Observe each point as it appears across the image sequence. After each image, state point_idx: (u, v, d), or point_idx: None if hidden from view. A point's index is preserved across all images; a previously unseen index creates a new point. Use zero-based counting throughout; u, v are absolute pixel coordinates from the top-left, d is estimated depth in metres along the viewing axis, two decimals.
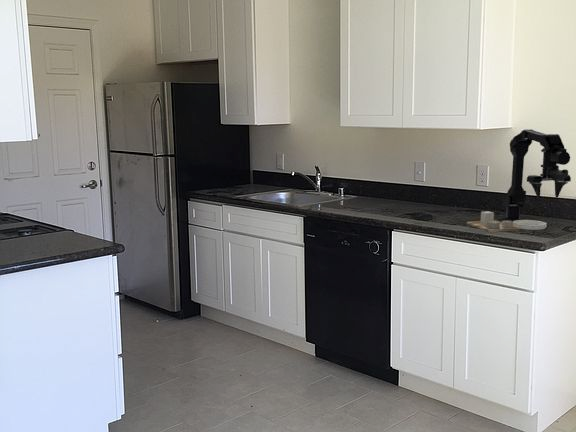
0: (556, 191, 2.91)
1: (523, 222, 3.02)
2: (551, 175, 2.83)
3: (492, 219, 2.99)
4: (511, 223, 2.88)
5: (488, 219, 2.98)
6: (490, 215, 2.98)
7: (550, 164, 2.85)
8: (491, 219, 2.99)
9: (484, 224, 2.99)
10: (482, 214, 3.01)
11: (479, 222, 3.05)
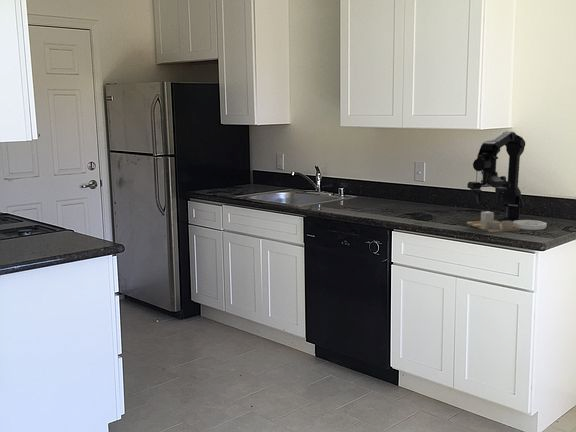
0: (496, 197, 3.00)
1: (523, 222, 3.02)
2: (490, 181, 2.92)
3: (492, 219, 2.99)
4: (511, 223, 2.88)
5: (488, 219, 2.98)
6: (490, 215, 2.98)
7: (489, 171, 2.94)
8: (491, 219, 2.99)
9: (484, 224, 2.99)
10: (482, 214, 3.01)
11: (479, 222, 3.05)
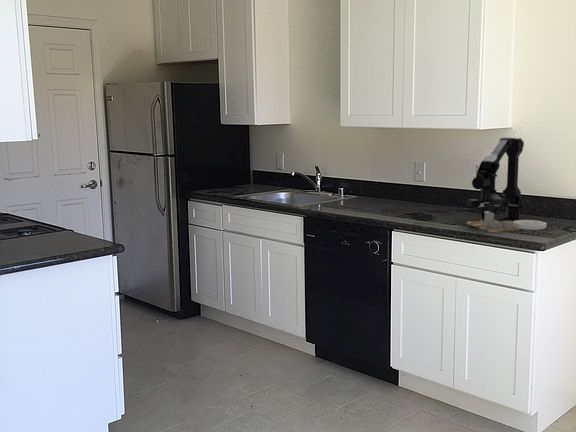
0: None
1: (523, 222, 3.02)
2: (489, 199, 2.93)
3: (492, 219, 2.99)
4: (511, 223, 2.88)
5: (488, 219, 2.98)
6: (490, 215, 2.98)
7: (488, 189, 2.95)
8: (491, 219, 2.99)
9: (484, 224, 2.99)
10: None
11: (479, 222, 3.05)
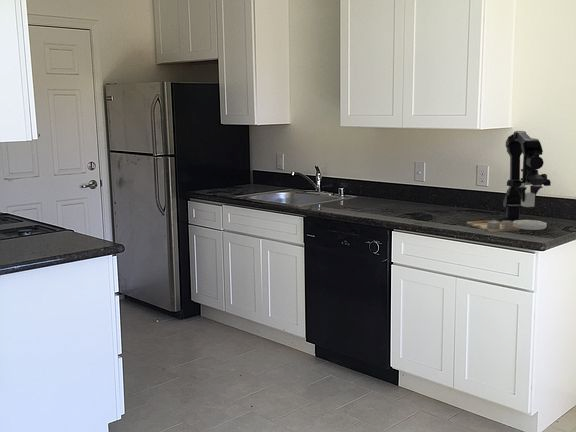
0: None
1: (523, 222, 3.02)
2: (530, 179, 2.87)
3: (533, 200, 2.92)
4: (511, 223, 2.88)
5: (529, 200, 2.92)
6: (531, 195, 2.92)
7: (529, 168, 2.89)
8: (532, 200, 2.92)
9: (525, 205, 2.93)
10: None
11: (479, 222, 3.05)
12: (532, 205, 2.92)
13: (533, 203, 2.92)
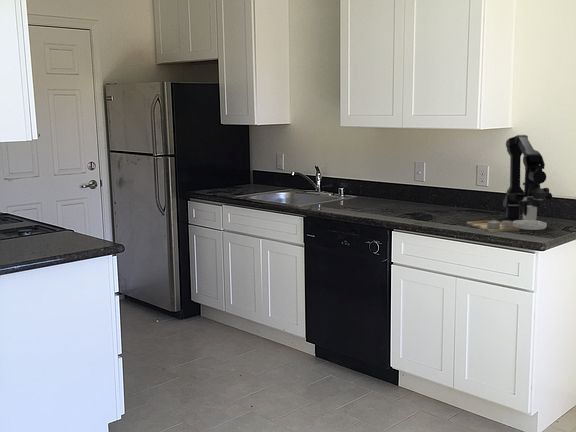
0: None
1: (523, 222, 3.02)
2: (532, 193, 2.88)
3: (535, 213, 2.93)
4: (511, 223, 2.88)
5: (531, 213, 2.93)
6: (533, 209, 2.92)
7: (531, 182, 2.90)
8: (534, 213, 2.93)
9: (527, 218, 2.94)
10: None
11: (479, 222, 3.05)
12: (534, 219, 2.93)
13: (535, 217, 2.93)
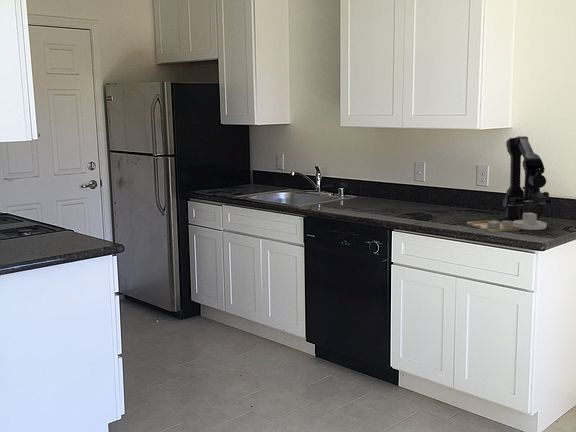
0: (537, 213, 2.96)
1: None
2: (532, 197, 2.88)
3: (535, 220, 2.94)
4: (511, 223, 2.88)
5: (531, 220, 2.93)
6: (533, 216, 2.93)
7: (531, 186, 2.90)
8: (534, 220, 2.93)
9: None
10: (524, 215, 2.95)
11: (479, 222, 3.05)
12: None
13: (535, 224, 2.94)
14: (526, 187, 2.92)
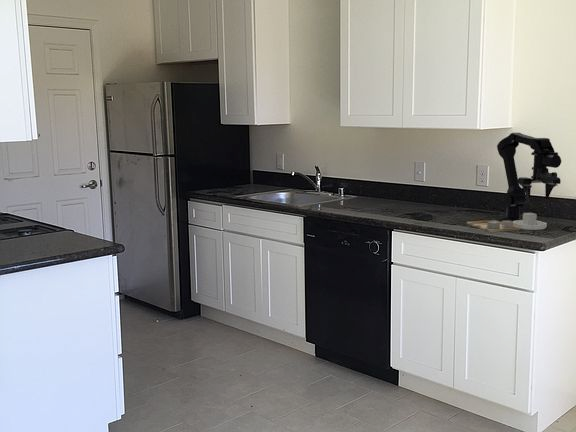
0: (546, 193, 3.02)
1: None
2: (540, 177, 2.94)
3: (535, 220, 2.94)
4: (511, 223, 2.88)
5: (531, 220, 2.93)
6: (533, 216, 2.93)
7: (540, 167, 2.96)
8: (534, 220, 2.93)
9: None
10: (524, 215, 2.95)
11: (479, 222, 3.05)
12: None
13: (535, 224, 2.94)
14: (535, 167, 2.98)
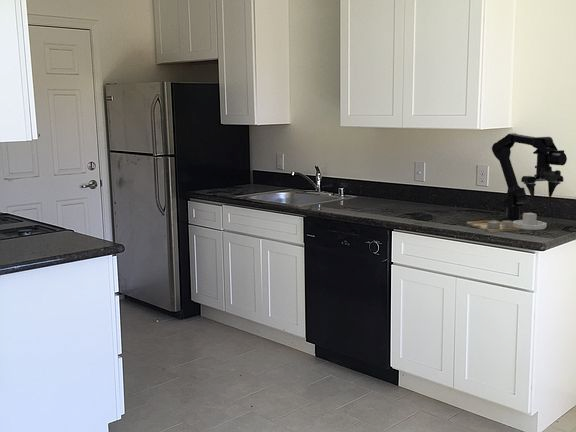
0: (549, 191, 3.05)
1: None
2: (544, 176, 2.97)
3: (535, 220, 2.94)
4: (511, 223, 2.88)
5: (531, 220, 2.93)
6: (533, 216, 2.93)
7: (543, 165, 2.99)
8: (534, 220, 2.93)
9: None
10: (524, 215, 2.95)
11: (479, 222, 3.05)
12: None
13: (535, 224, 2.94)
14: (538, 166, 3.00)
